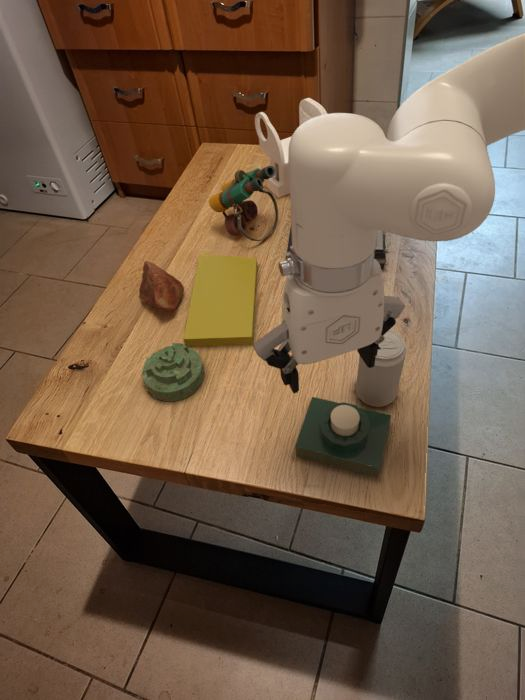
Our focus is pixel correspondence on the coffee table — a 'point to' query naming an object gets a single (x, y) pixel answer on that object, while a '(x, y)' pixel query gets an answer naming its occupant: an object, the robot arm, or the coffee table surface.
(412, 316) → the coffee table surface
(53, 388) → the coffee table surface
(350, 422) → the cylinder
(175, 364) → the decorative artifact
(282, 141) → the tape dispenser
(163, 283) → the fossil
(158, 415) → the coffee table surface
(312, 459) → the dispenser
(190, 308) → the flat olive board
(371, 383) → the beverage can
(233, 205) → the binoculars
